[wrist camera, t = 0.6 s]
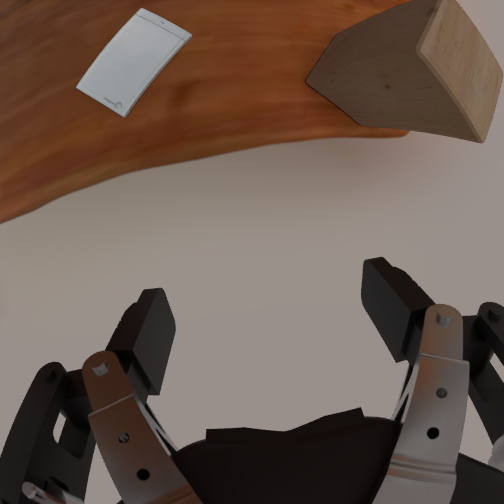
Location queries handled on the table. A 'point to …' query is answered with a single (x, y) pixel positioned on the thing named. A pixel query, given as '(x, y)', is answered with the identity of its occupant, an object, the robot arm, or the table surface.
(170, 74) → the table surface
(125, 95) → the hard drive
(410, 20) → the wooden block
